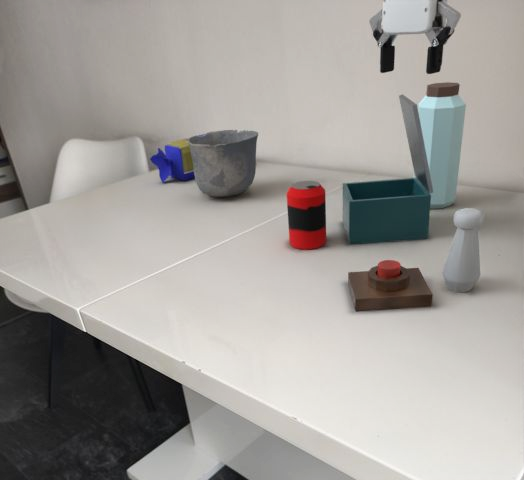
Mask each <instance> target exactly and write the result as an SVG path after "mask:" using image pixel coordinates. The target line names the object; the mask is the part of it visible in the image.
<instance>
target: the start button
mask: <svg viewBox="0 0 524 480" xmlns="http://www.w3.org/2000/svg"><path fill="white" fill-rule="evenodd" d="M401 264H402V263H401V262H399V261H398V260H394V259H384V260H381V261H379V262H378V263H377V266H378V273H377V274H378V276H379V277H383V278H396V277H398V276H400V268H401V266H402V265H401Z"/></svg>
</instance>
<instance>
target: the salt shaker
mask: <svg viewBox="0 0 524 480" xmlns="http://www.w3.org/2000/svg"><path fill="white" fill-rule="evenodd" d="M452 221H453V225H454V226H455V227H456V229H455V233H454V237H453V240H452V243H451V246H450V249H449V252H448V255H447V258H446V261H445V264H444V267H443V270H442V277H443V281H444V282H445V286H446V288H447V290H450V291H452V292H454V293H468V292H470V291H471V290H472V289H474V287H475V285H476V284H477V282H479V280H480V278H481V260H480V259H481V258H480V257H481V255H480V240H479V239H480V238H479V228H480V227H481V226H482V225H483V223H484V213H483V212H482V210H480V209H478V208H473V207H465V208H461V209H458V210H457V211H455V212H454V214H453V220H452Z"/></svg>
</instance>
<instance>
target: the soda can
mask: <svg viewBox="0 0 524 480" xmlns="http://www.w3.org/2000/svg"><path fill="white" fill-rule="evenodd" d="M326 205H327V203H326V189H325V188H324V187H323V186H322V184H321V183H320V182H319V181H317V180H301V181H296V182H294V183H292V184H291V185H290V187H289V188H288V190H287V191H286V206H287V208H286V209H287V222H288V238H289V239H288V240H289V245H290V246H291V247H293V248H294V249H297V250H306V251H307V250H308V251H309V250H315V249H319V248H321V247H323V246H324V245H325V244H326V243H327V214H326V213H327V209H326V208H327V207H326Z"/></svg>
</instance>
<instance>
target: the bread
mask: <svg viewBox="0 0 524 480" xmlns="http://www.w3.org/2000/svg"><path fill="white" fill-rule="evenodd" d="M204 134H205V133H203V134H198V135H197V136H202V135H204ZM191 137H192V136H190V137H187V138H182V139H179V140H175V141H172V142H169V143H166V144H165V145H164V151H163V150H162V149H161V148H160V147H157V151H158V152H157V153H156V154H154V155H152V156H151V157H150V158H149V160H150V161H151V163H152V164H153V165H155V166H157V170H158V171H159V172H158V173H159V174H158V175H159V179H160V181H161V183H165V182H166V180H167V179H168V178H169V177H171V179H176V180H179V181H183V182H187V181H191V180H193V179H195V175H194V167H193V159H192V155H191V150H190V147H189V143H188V139H189V138H191Z"/></svg>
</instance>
